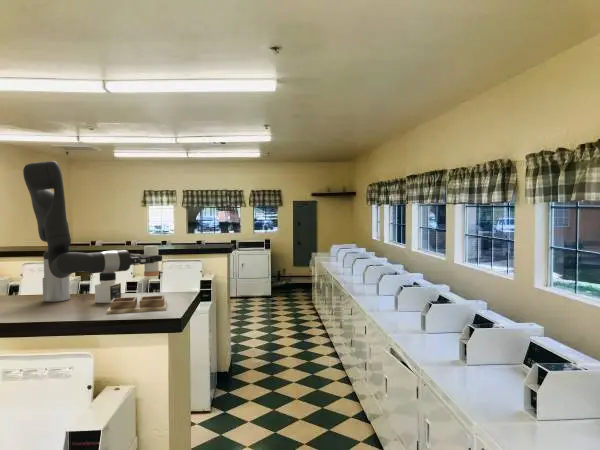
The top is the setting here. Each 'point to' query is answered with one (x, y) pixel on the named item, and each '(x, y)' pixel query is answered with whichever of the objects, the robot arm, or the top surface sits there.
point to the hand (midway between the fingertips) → (157, 257)
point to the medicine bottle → (107, 288)
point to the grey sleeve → (151, 268)
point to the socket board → (137, 304)
